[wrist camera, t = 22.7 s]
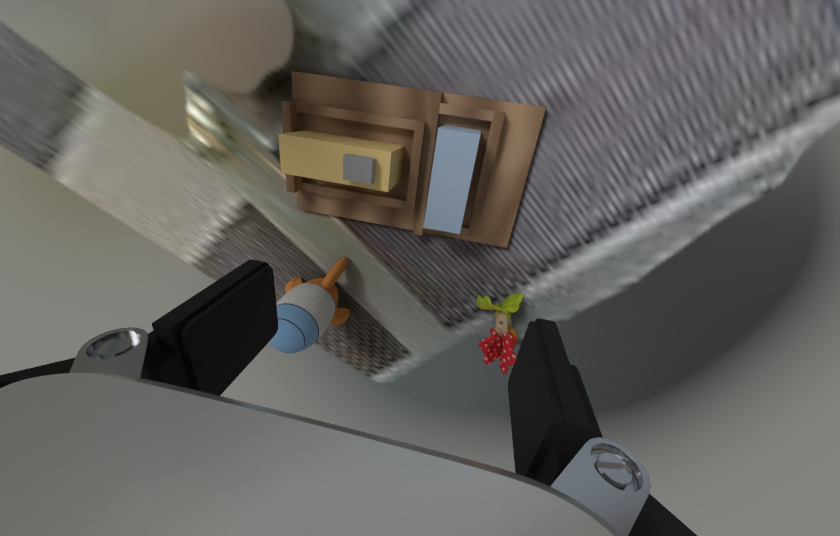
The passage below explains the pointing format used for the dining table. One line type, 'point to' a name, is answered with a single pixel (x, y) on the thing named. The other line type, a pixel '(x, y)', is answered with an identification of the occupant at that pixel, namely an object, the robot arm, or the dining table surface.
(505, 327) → the bird rattle
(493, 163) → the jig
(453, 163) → the plank
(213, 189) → the dining table surface
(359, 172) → the block
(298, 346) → the toy rocket
